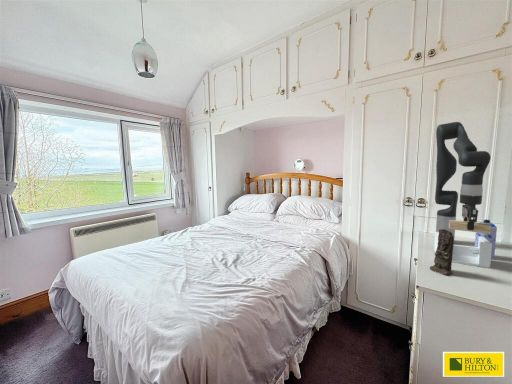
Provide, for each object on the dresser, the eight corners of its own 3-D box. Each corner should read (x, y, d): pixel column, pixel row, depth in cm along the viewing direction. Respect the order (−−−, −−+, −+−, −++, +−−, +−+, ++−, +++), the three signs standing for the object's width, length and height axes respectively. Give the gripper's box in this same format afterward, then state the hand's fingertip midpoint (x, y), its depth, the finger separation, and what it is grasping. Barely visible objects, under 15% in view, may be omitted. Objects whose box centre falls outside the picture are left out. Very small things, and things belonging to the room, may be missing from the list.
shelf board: (448, 226, 112) (449, 219, 111) (487, 230, 103) (488, 223, 103) (449, 229, 107) (449, 222, 107) (490, 233, 99) (491, 226, 98)
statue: (429, 269, 103) (431, 228, 101) (438, 266, 105) (441, 226, 103) (445, 276, 96) (449, 232, 94) (455, 273, 99) (458, 230, 97)
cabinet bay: (433, 252, 123) (435, 231, 122) (481, 259, 113) (483, 236, 112) (437, 260, 113) (439, 237, 112) (489, 268, 103) (492, 243, 102)
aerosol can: (499, 259, 112) (502, 221, 110) (481, 258, 113) (484, 221, 111) (486, 254, 119) (489, 218, 117) (469, 253, 121) (472, 218, 119)
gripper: (456, 191, 111) (454, 223, 113) (464, 195, 99) (462, 231, 101) (476, 192, 107) (473, 225, 109) (487, 196, 95) (484, 233, 97)
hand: (468, 227), depth 105 cm, fingers closed on shelf board, 5 cm apart
